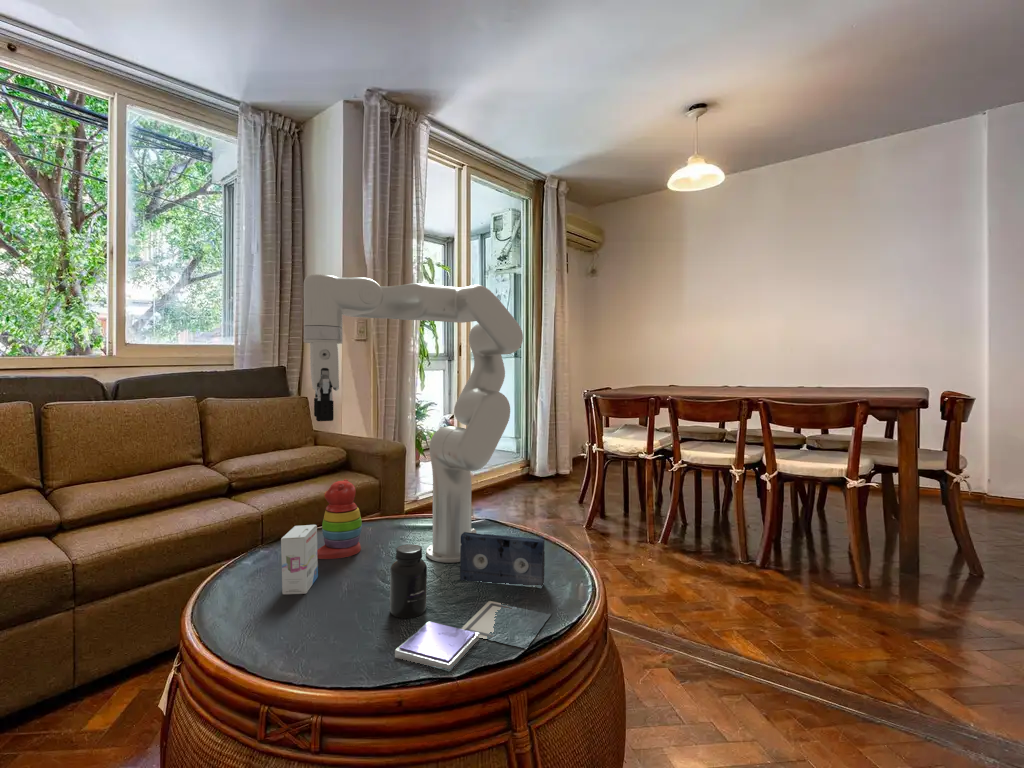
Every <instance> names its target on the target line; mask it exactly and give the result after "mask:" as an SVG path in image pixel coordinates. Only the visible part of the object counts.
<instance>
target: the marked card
mask: <svg viewBox="0 0 1024 768" xmlns="http://www.w3.org/2000/svg"><path fill="white" fill-rule="evenodd" d="M501 607H503V608H509V609H512V608H510V607H508V606H503V605H501V602H497V601H491V600H488V601H487V602H486V603H485V604H484V605H483V606H482V607H481V608H480V609H479V610H478V611H477V612H476V613H475V614H474V615H473V616H472V617H471V618H470V619H469V620H468V621H467V622H466V623H465V624H464V625H463V626H462V627H461V628H460V629H463V630H467V631H472V632H476V633H479V638H483V639H487V636H489V637H493V636H494V635H491V634H489V633H490V632H492V633H493V632H494V628H493V626H494V624H495V621H494V620H495V619H496V618H494V617H495V616H497V615H495V614H496V613H495V612H498V611H497V610H500V609H501ZM483 639H482V640H483Z"/></svg>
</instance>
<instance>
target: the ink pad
mask: <svg viewBox="0 0 1024 768" xmlns="http://www.w3.org/2000/svg"><path fill="white" fill-rule="evenodd" d="M478 640H479V641H480V639H479V633H476V632H472V631H467V630H463V629H461V628H458V627H454V626H451V625H447V624H441V623H437V622H432V621H427V622H426V623H425V624H424V625H423V626H422V627H420V628H419V629H417V631H416V632H414V633H413V634H412V635H411V636H409V637H408V638H407V639H406V640H405V641H404V642H403V643H401V644H400V645H399V646H398V647H397V648H396V649H394V658H395V659H399V660H402V659H403V661H406V660H407V661H406V662H410V661H411V662H410V663H413V662H415V663H414V664H417V663H420V664H424V665H429V666H436V667H442V668H447V669H450V668H451V667H452V666H454V664H456V663H457V662H458V661H459V660H460V659H461V657H463V656H464V655H465V653H466V652H467V651H468V650H469V649H470V648H471V647H472V646H473V645H474V644H475V643H476V642H477V641H478ZM479 641H478V642H479ZM478 642H477V643H478ZM477 643H476V644H477ZM476 644H475V645H476ZM475 645H474V646H475ZM465 656H466V655H465ZM465 656H464V657H465ZM420 664H419V665H420ZM424 665H423V666H424Z"/></svg>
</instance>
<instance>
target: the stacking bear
mask: <svg viewBox="0 0 1024 768" xmlns="http://www.w3.org/2000/svg"><path fill="white" fill-rule="evenodd" d="M356 492H357V491H356V487H355V485H354V484H353V483H352V482H350V481H349V479H347V478H344V480H338V481H335V482H333V483H332V484H331V485H330V487H329V488H328V489H327V490H326V491H325V492H324V494H323V496H324V499H325V500H326V502H327V503H328V505H327V506H326V507H325V511H324V516H323V520H322V525H321V528H322V529H321V532H322V536H323V542H324V545H322V546H321V547H319V548H317V560H333V559H342V558H348V557H352V556H354V555H357V554H359V553H360V551H361V550H362V546H361V543H360V542H359V541H360V538H361V533H362V527H363V526H362V525H363V523H362V516H361V512H360V508H359V507H358V505H357V504H356V503H355V502H354V500H355V497H356V494H357V493H356Z"/></svg>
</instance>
